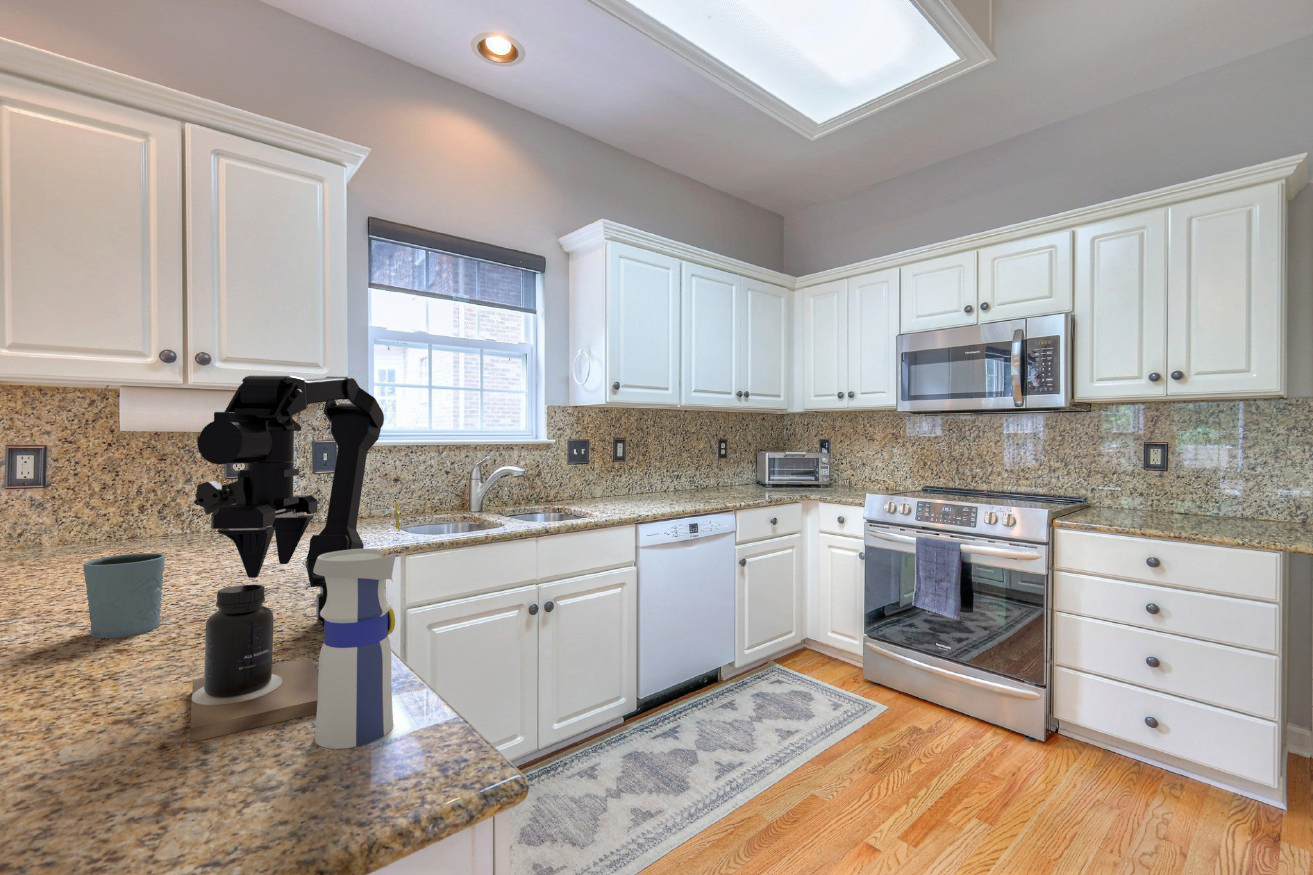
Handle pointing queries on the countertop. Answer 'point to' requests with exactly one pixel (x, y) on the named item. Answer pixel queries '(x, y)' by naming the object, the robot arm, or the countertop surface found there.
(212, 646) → the supplement bottle
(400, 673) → the countertop surface
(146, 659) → the countertop surface
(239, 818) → the countertop surface
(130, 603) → the blue-grey cup
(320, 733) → the water bottle
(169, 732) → the countertop surface
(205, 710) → the walnut board
